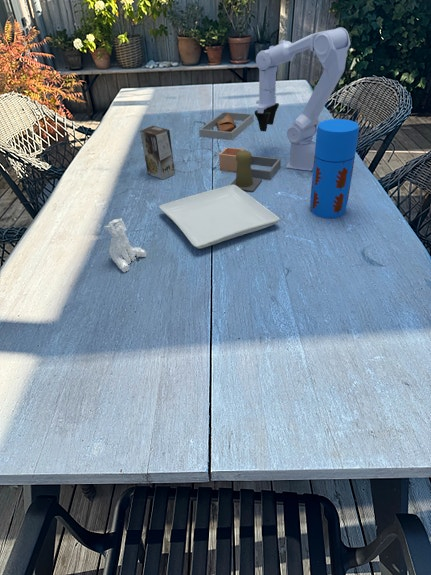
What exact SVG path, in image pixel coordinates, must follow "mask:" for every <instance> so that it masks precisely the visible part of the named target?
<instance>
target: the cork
mask: <svg viewBox="0 0 431 575" xmlns="http://www.w3.org/2000/svg"><path fill="white" fill-rule="evenodd" d="M252 156H253V155H252V152H251V151H249V150H247V149H244V150H242V151H239V152H237V154H236V160H237V162H238V164H237V172H235V173H236V174H235V175H236V176H235V179H236V183H235V184H236V185H237V186H239V187H248V186H251V185H252V184H253V179H252V172H251V168H252V165H250V161H251V158H252Z"/></svg>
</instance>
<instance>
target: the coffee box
mask: <svg viewBox="0 0 431 575" xmlns="http://www.w3.org/2000/svg"><path fill="white" fill-rule="evenodd" d="M139 133H140V138H141V145H142V149H143V155H144V160H145V161H144V162H145V166H146V172H147V174H148V173H149V174H151V175H150V176H152V175H153V176H152V177H155V178H157V179H158V178H159V179H161V180H165V179H167V178H170V177H171V176H175V175H176V171H175V162H174V156H173V148H172V147H173V146H172V140H171V132H170V129H168V128H164V127H159V126H156V125H151V126H148V127H146V128H144V129H142V130H139ZM149 174H148V175H149Z"/></svg>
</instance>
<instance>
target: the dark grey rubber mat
mask: <svg viewBox="0 0 431 575" xmlns="http://www.w3.org/2000/svg"><path fill="white" fill-rule="evenodd" d="M252 179H253V184H252V185H251V186H248V187H239V186H237V185H236V184H235V183H236V178H235V179H234V180H233V181H232V182H231V183H230V184H229V185H236V186H237V187H239V188H240V189H241V190H243V191H244V192H246V193H247V192H248V193H254V192H255V191H256V189H257V188H258V187H259V186H260V184H261V183H262V182H263V179H260V178H252Z"/></svg>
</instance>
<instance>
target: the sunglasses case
mask: <svg viewBox="0 0 431 575" xmlns="http://www.w3.org/2000/svg"><path fill="white" fill-rule="evenodd" d="M216 127H217V131H225V132H232V131H233V130H234V129H235V128H236V127H237V125H236V122H235V120H233V118H232V117H231V115H230V114H228V115H226V116H225V117H224V118H223V119H221V120H220V121H218V122H217V123H216Z"/></svg>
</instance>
